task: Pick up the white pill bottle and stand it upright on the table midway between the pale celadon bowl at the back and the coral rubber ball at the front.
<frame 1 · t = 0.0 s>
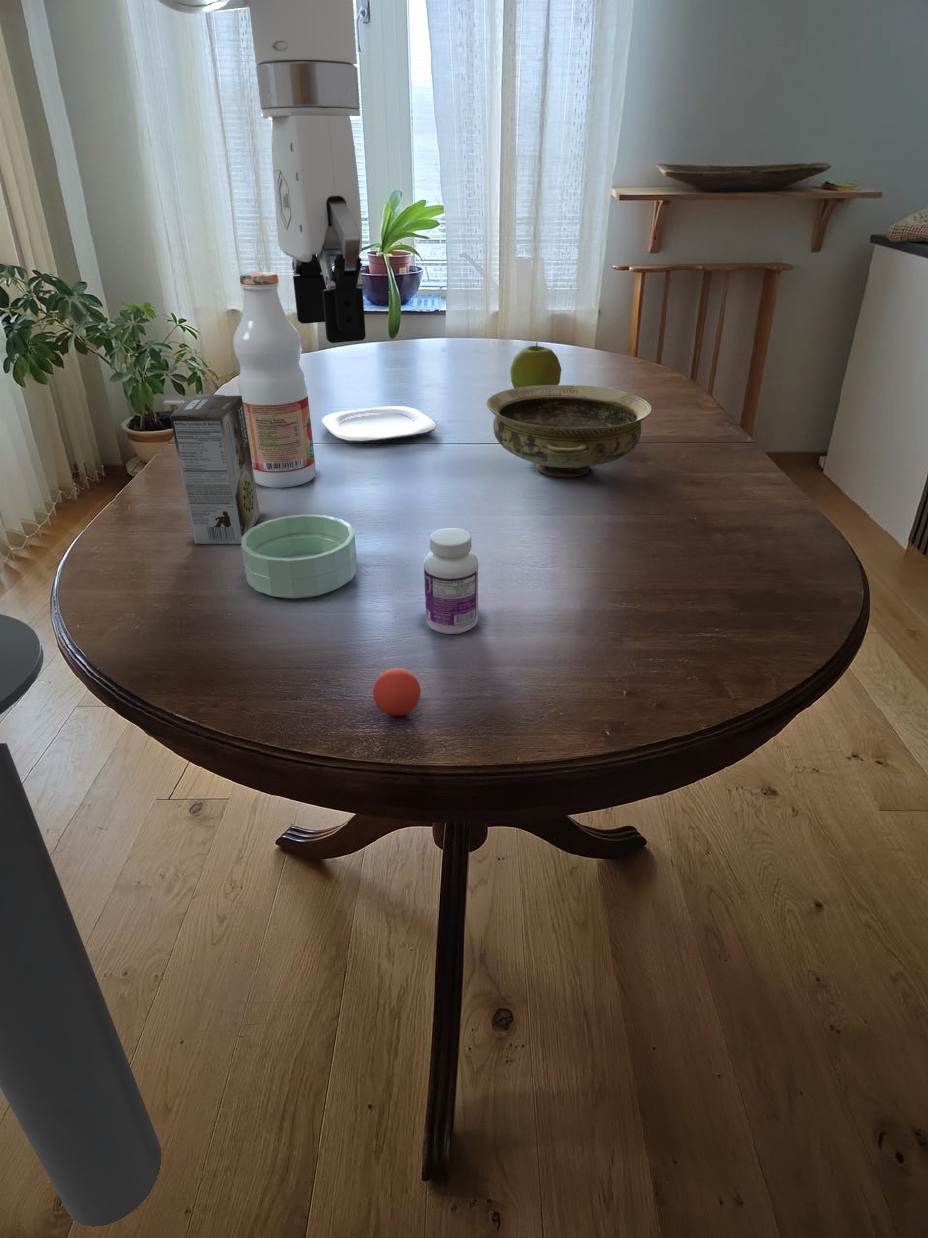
hand: (330, 330, 69), 28 cm above the table, tool pointing down, fingers open, 9 cm apart
grey cardboard box: (228, 531, 101), on the table
pill bottle: (451, 624, 80), on the table
fruit juice: (284, 479, 117), on the table
rubber ball: (396, 691, 66), point 2 cm above the table
plate: (378, 431, 137), on the table
ceramic bowl: (564, 469, 120), on the table
celadon bowl: (303, 576, 89), on the table
apple: (534, 400, 154), on the table
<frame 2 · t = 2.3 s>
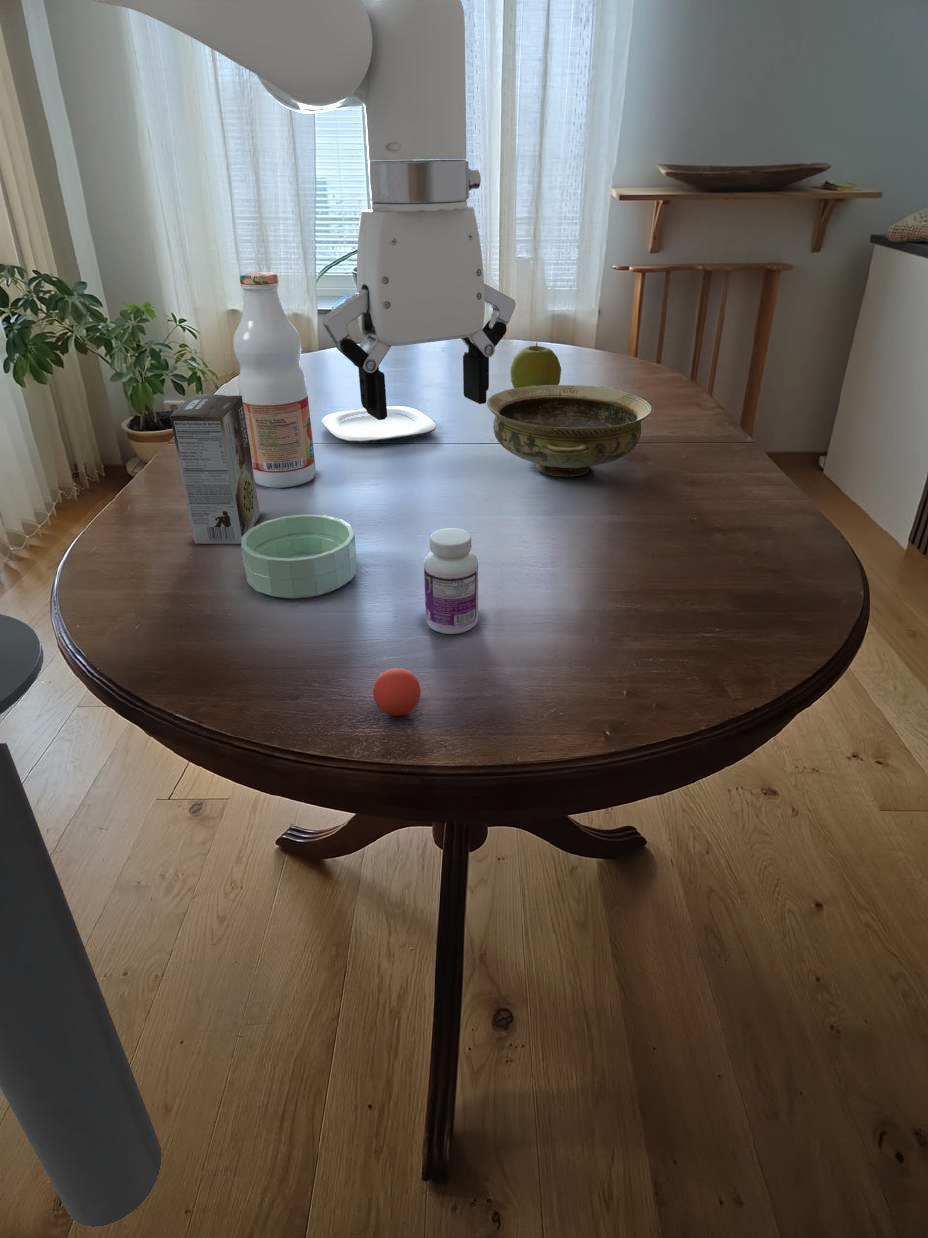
hand: (427, 407, 70), 22 cm above the table, tool pointing down, fingers open, 9 cm apart
nothing on the table moved.
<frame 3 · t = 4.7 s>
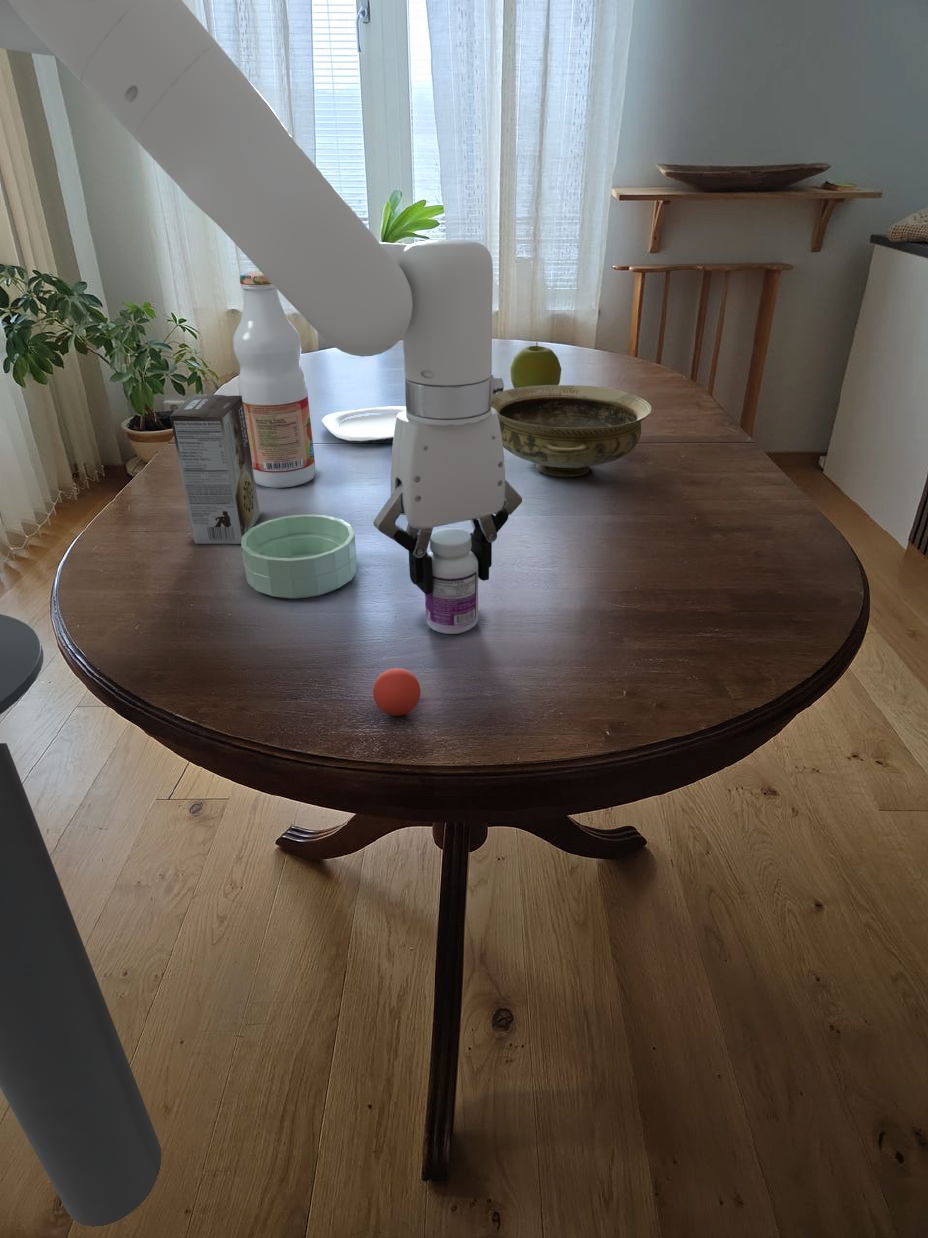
hand: (451, 579, 78), 5 cm above the table, tool pointing down, fingers closed on pill bottle, 5 cm apart
pill bottle: (451, 623, 80), on the table, touching gripper
everything else where it was.
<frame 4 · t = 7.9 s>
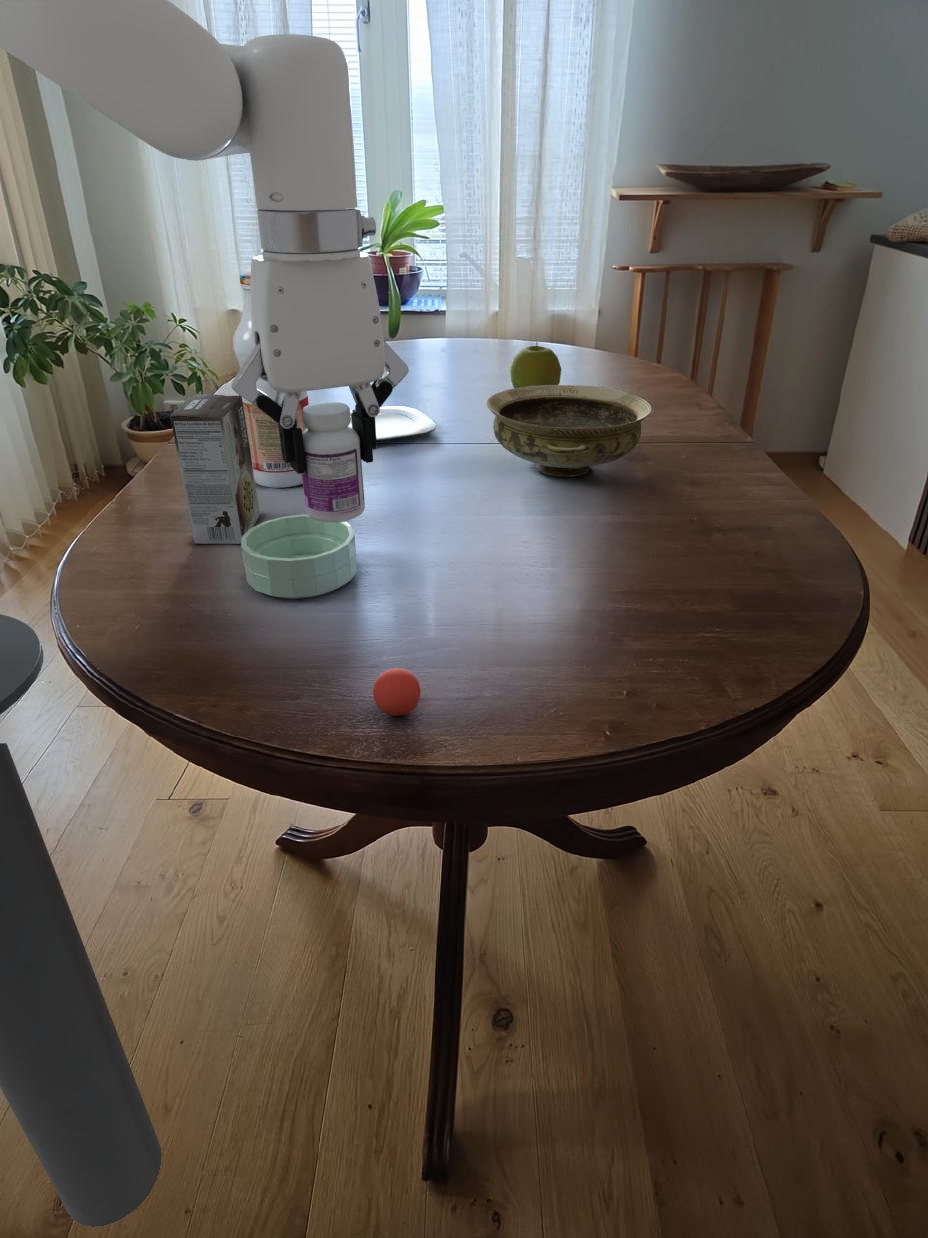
hand: (330, 461, 69), 18 cm above the table, tool pointing down, fingers closed on pill bottle, 5 cm apart
pill bottle: (335, 514, 72), point 13 cm above the table, touching gripper
everything else where it was.
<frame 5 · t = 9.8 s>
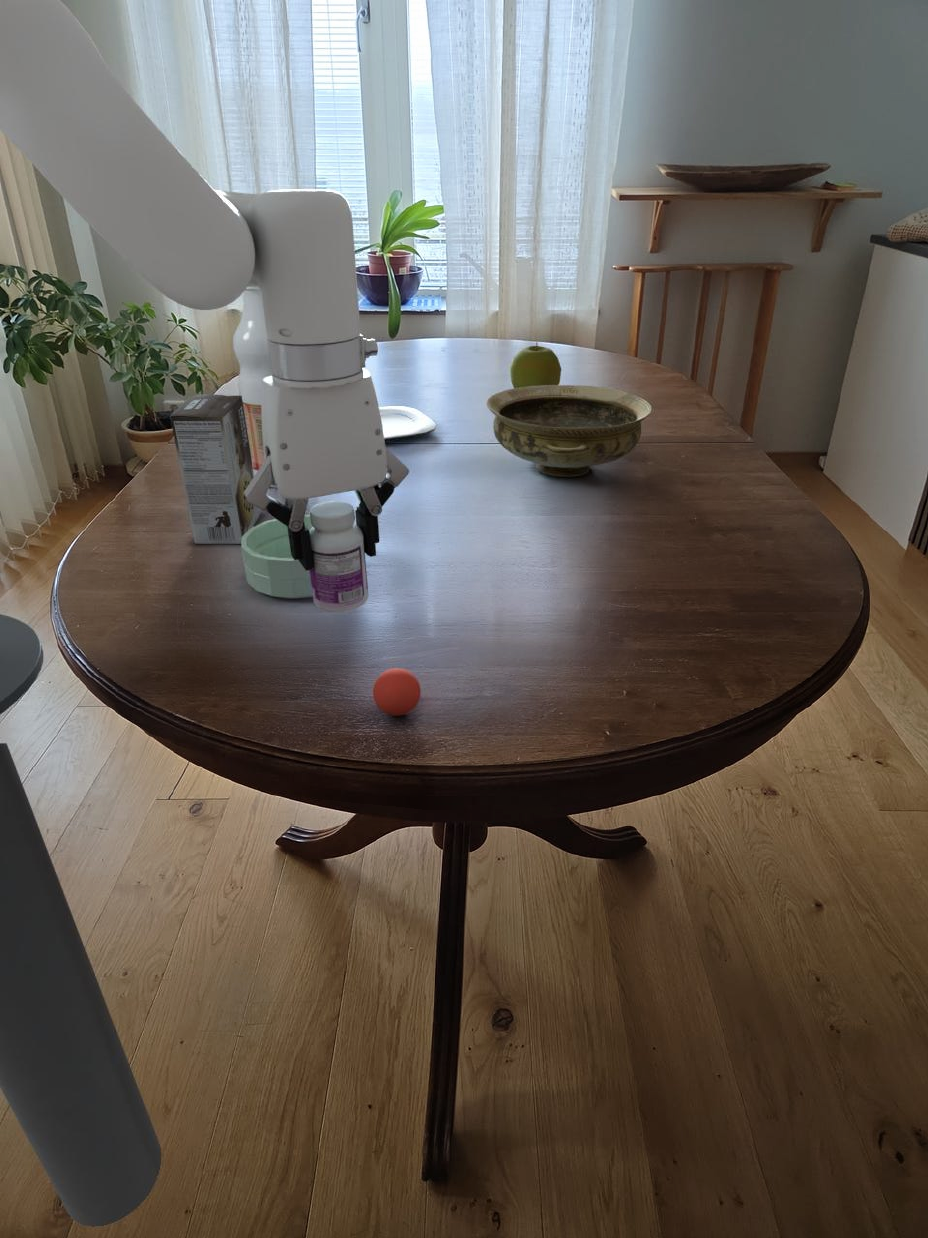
hand: (336, 555, 74), 9 cm above the table, tool pointing down, fingers closed on pill bottle, 5 cm apart
pill bottle: (341, 602, 77), point 4 cm above the table, touching gripper
everything else where it was.
when the fingers open (5 cm above the table, at t = 11.2 s): pill bottle stays where it is, on the table.
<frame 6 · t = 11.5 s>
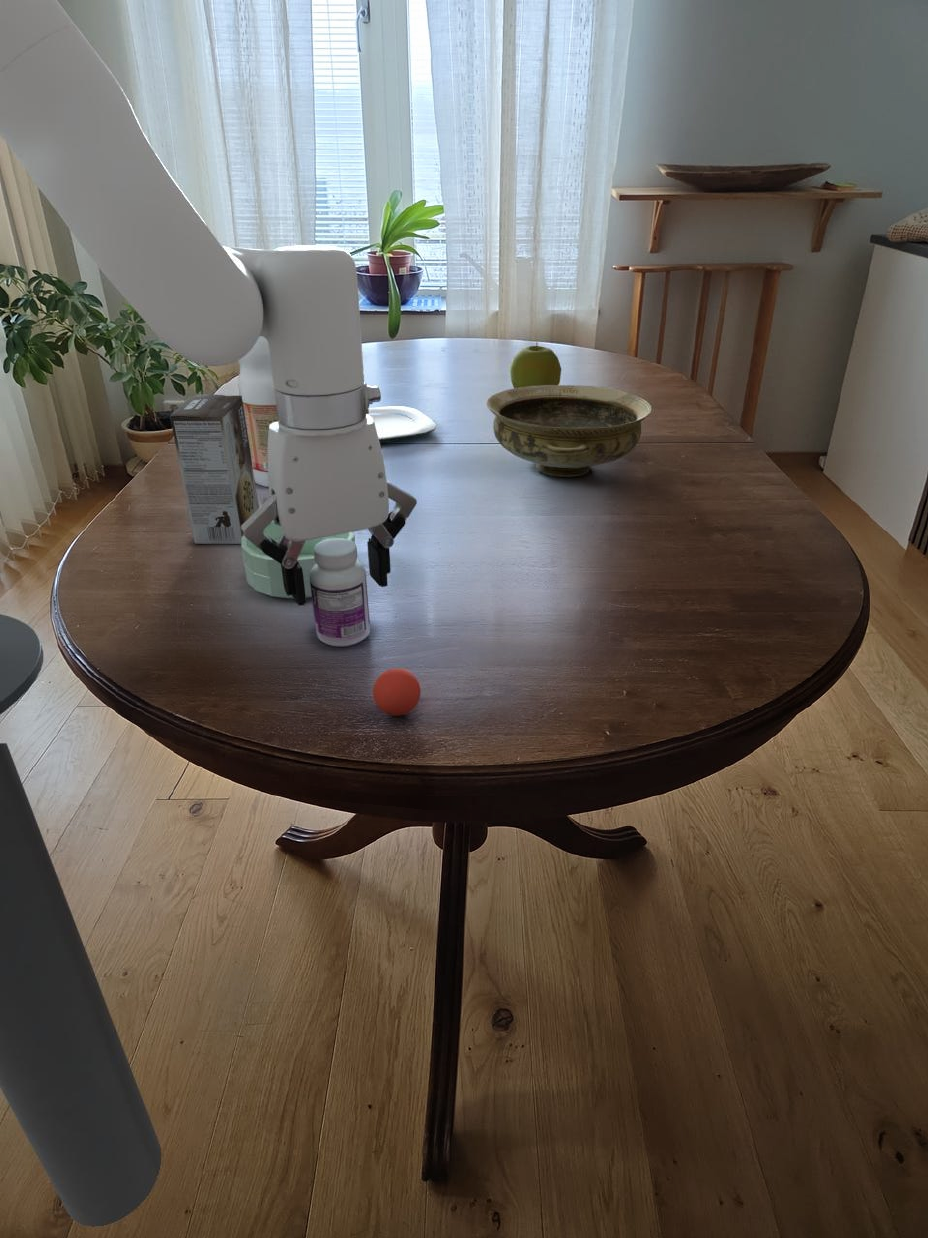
hand: (339, 589, 76), 5 cm above the table, tool pointing down, fingers open, 7 cm apart
pill bottle: (343, 635, 78), on the table
everything else where it was.
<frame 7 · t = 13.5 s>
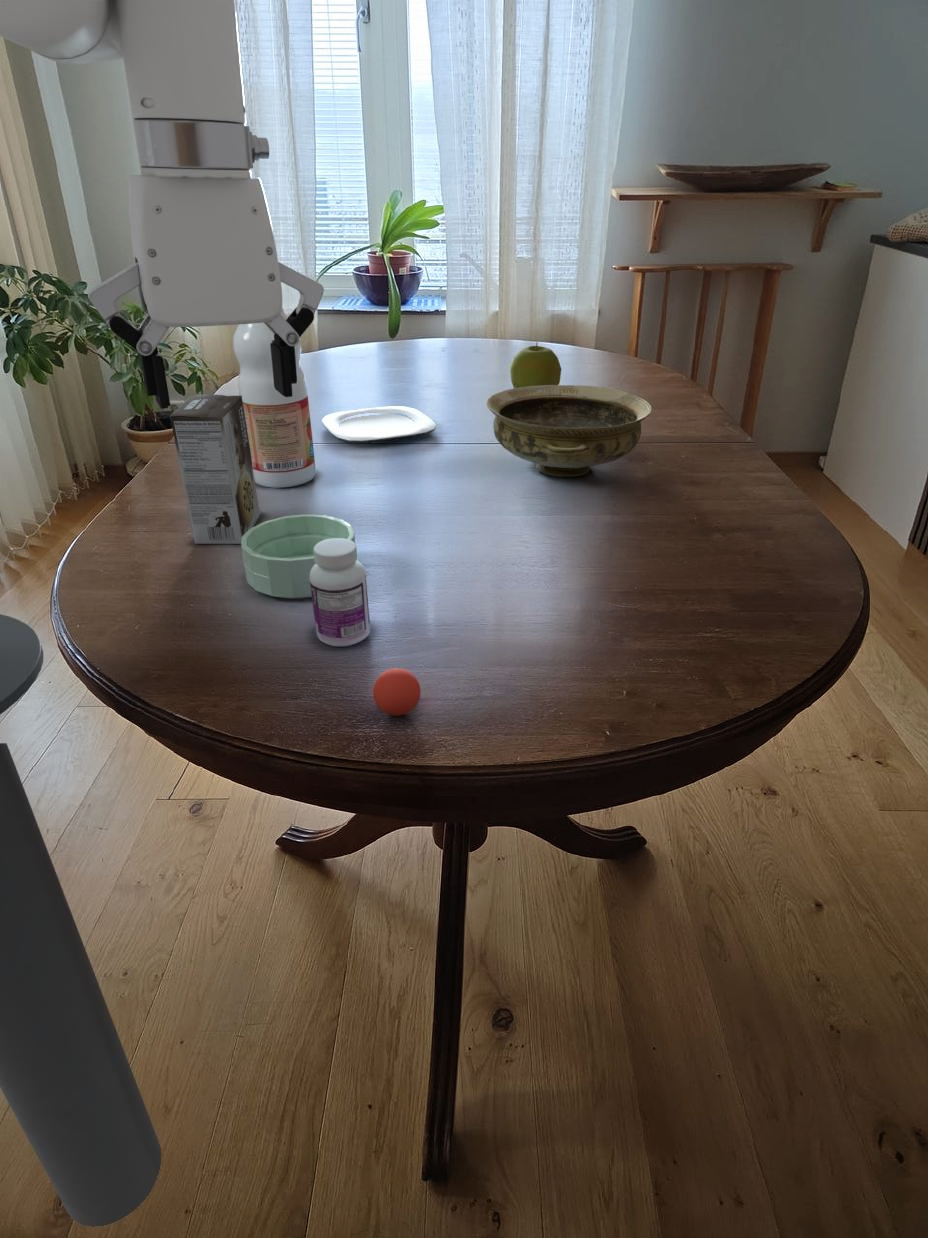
hand: (225, 398, 64), 24 cm above the table, tool pointing down, fingers open, 9 cm apart
nothing on the table moved.
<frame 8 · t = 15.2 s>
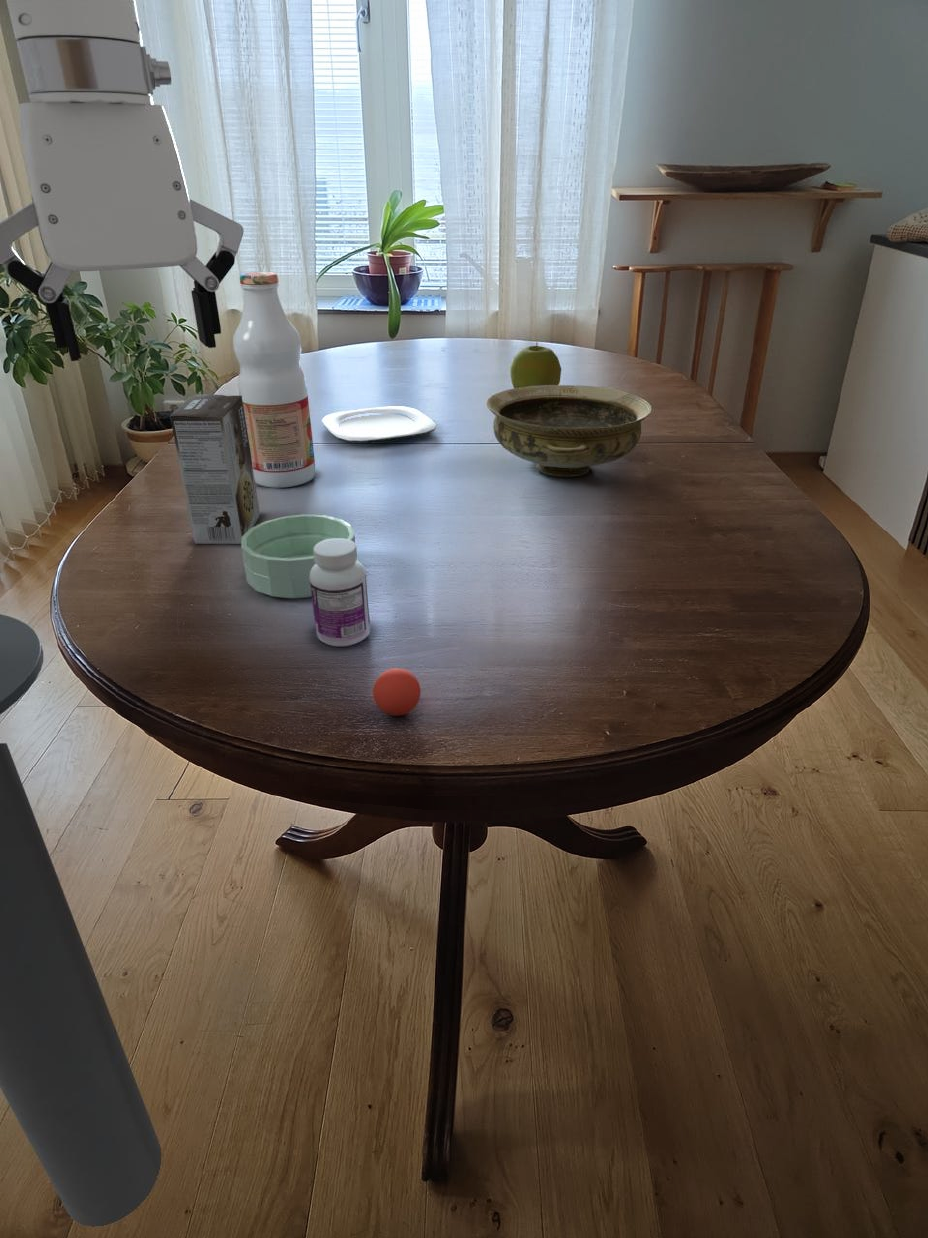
hand: (143, 350, 60), 28 cm above the table, tool pointing down, fingers open, 9 cm apart
nothing on the table moved.
at the end: pill bottle 0.0 cm from the target spot on the table beside the celadon bowl, on the table; pill bottle tilted 0°; rubber ball moved 0.0 cm from its start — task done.
